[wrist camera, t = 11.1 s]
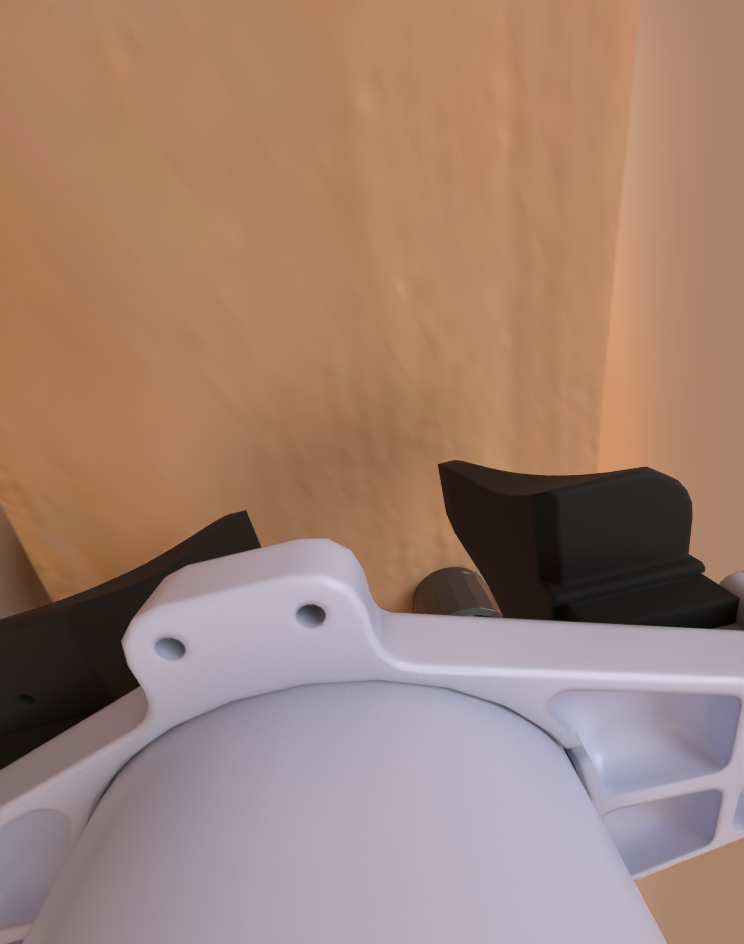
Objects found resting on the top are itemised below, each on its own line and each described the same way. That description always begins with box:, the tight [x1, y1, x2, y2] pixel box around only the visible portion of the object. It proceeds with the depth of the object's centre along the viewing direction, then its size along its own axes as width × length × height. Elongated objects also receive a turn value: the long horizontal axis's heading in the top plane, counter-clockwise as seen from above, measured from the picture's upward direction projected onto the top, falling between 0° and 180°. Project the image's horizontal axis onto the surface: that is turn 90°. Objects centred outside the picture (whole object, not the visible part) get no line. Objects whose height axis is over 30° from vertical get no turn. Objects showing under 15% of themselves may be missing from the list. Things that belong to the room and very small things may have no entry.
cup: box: [413, 567, 503, 618], centre depth 25 cm, size 6×6×4 cm
